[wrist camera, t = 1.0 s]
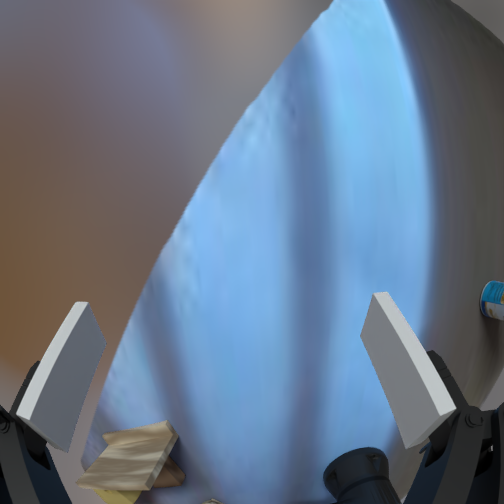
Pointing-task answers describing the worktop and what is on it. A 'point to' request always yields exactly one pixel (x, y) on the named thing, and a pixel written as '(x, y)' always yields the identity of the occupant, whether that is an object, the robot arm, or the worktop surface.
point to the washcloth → (212, 502)
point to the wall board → (135, 460)
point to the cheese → (118, 496)
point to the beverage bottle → (493, 300)
